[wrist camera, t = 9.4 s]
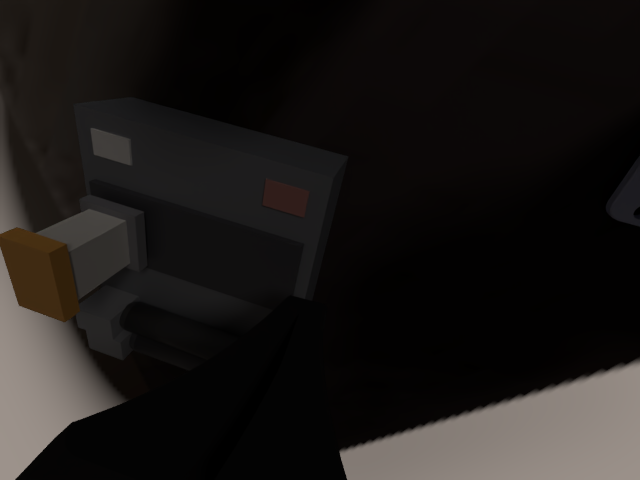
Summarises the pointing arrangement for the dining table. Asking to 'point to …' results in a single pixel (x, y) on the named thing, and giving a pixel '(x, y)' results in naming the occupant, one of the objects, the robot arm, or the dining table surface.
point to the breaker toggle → (73, 256)
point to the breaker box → (202, 227)
